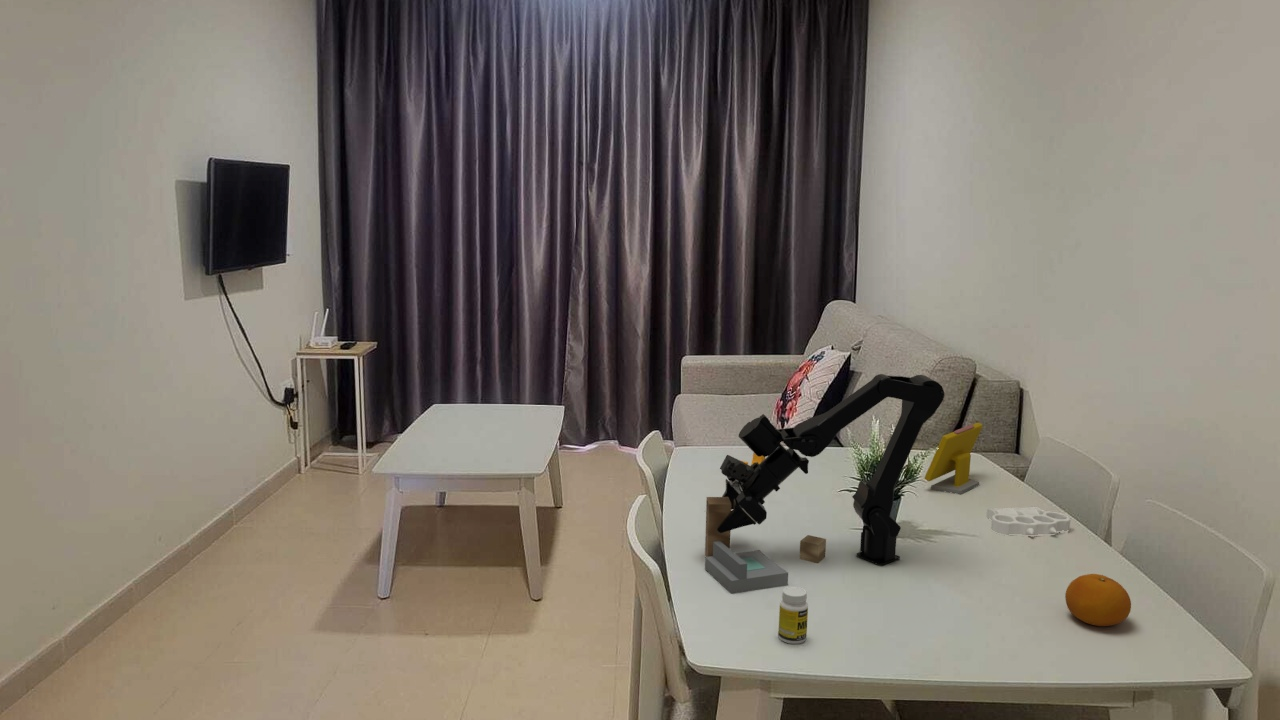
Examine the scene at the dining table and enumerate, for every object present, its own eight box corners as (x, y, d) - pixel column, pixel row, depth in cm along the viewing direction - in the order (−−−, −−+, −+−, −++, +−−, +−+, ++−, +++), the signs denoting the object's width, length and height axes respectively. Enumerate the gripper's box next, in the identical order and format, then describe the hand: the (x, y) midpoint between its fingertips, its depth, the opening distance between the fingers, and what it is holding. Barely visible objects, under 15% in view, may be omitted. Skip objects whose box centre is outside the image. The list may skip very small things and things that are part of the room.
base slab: (758, 561, 189) (759, 535, 188) (787, 584, 178) (788, 557, 177) (704, 569, 185) (705, 542, 184) (731, 593, 174) (732, 565, 173)
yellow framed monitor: (958, 475, 249) (963, 418, 246) (987, 481, 243) (992, 423, 241) (923, 491, 235) (927, 431, 232) (952, 498, 229) (957, 437, 226)
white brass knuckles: (1044, 516, 219) (1082, 539, 205) (972, 519, 216) (1006, 542, 202) (1045, 502, 218) (1083, 524, 204) (974, 505, 216) (1007, 528, 201)
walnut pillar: (726, 554, 192) (728, 496, 190) (729, 563, 188) (731, 504, 186) (704, 554, 192) (706, 496, 190) (707, 563, 188) (709, 504, 185)
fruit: (1143, 631, 161) (1148, 587, 159) (1089, 636, 159) (1094, 592, 157) (1101, 605, 171) (1106, 564, 169) (1051, 609, 169) (1055, 568, 167)
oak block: (825, 557, 192) (826, 538, 191) (817, 563, 188) (818, 544, 188) (807, 553, 194) (808, 534, 193) (799, 559, 191) (800, 540, 190)
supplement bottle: (799, 647, 153) (802, 599, 152) (773, 639, 156) (775, 593, 154) (810, 635, 157) (813, 589, 156) (785, 628, 160) (787, 583, 158)
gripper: (738, 432, 195) (684, 481, 196) (752, 457, 177) (693, 511, 178) (774, 468, 197) (720, 517, 198) (791, 497, 178) (732, 550, 180)
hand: (715, 523), depth 188 cm, fingers open, 9 cm apart
